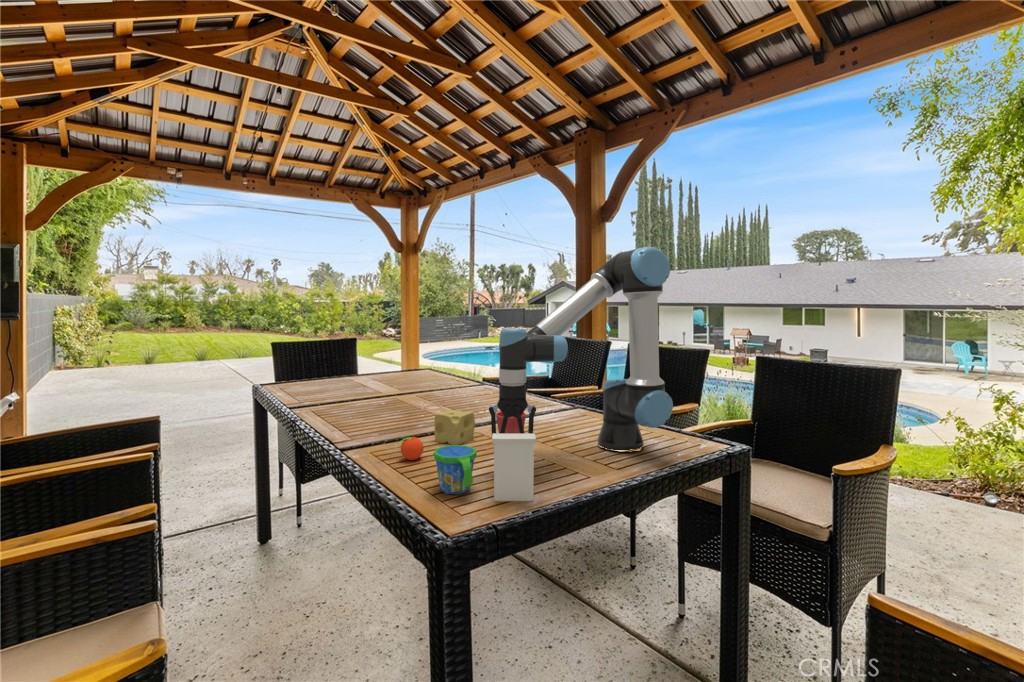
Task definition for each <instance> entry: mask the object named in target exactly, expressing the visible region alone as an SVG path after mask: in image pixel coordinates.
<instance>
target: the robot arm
mask: <svg viewBox="0 0 1024 682" xmlns="http://www.w3.org/2000/svg"><path fill="white" fill-rule="evenodd" d="M670 273H671V264H670V261H669V258H668V256H667V255H666V254H665V253H664V252H663V251H662V250H661V249H660V248H657V247H654V246H645V247H638V248H636V249H630V250H627V251H621V252H619V253H617V254H616V255H614V256H612V257H611V258H610V259H609V260H607V261H605V263H604V264H602V266H600V267H599V268H598V269H597V270H595V271H594V272H593V273H592V274H591V275H590V280H588V282H586V283H585V284H583V285H582V286H581V287H580V288H578V289H577V290H576V291H575V292H574V293H572V295H570V296H569V297H568V298H567V299H566V300H564V301H563V302H562V303H561V304H560V305H559V306H557V307H556V308H555V309H554V310H552V311H551V312H550V313H549V314H548V315H546V316H545V317H544V318H543V319H541V321H540V322H538V323H537V324H536V325H535V326H533V327H532V328H530V329H529V330H528V331H527V330H526V329H525V328H503V329H501V330H500V333H499V343H498V346H499V349H498V351H499V369H498V371H499V372H498V373H499V376H498V377H499V380H498V382H499V383H500V385H499V386H498V394H499V395H498V401H497V404H494V405H489V406H488V411H489V413H490V414H489V415H490V422H491V424H490V425H491V435H492V434H497V420H496V413H498V409H499V411H500V412H502V413H503V415H504V416H503V421H502V425H501V430H500V434H505V429H506V425H507V420H508V418H510V417H515V418H517V421H518V425H519V431H520V434H526V433H525V427H524V428H523V423H522V418H521V415H522V413H523V412H524V413H525V411H526V409H527V413H528V428H527V434H534V423H535V421H534V418H535V414H536V411H537V408H536V406H535V405H531V404H529V403H528V401H527V385H526V383H527V363H544V362H545V363H548V362H549V363H552V362H553V363H555V362H564V360H566V358H567V355H568V353H569V352H568V350H569V349H568V348H569V346H568V341H567V339H566V337H565V336H564V335H563V334H564V333H566V332H567V331H568V330H569V329H570V328H572V327H573V326H574V325H575V324H576V323H577V322H578V321H580V320H582V318H583V317H585V316H586V315H587V314H588V313H589V312H590V311H591V310H593V309H594V308H595V307H596V306H597V305H599V304H600V303H601V302H602V301H604V299H606V298H612V297H613V296H614V295H615V294H617V293H619V292H620V291H622V295H624V297H626V298H627V301H628V305H627V306H628V339H629V340H628V341H629V344H628V345H629V372H630V374H629V375H630V376H629V378H621V379H620V378H619V379H616V378H615V379H607V380H605V381H604V384H603V389H602V392H603V395H602V396H603V398H602V399H603V401H602V402H603V404H602V405H603V407H602V412H603V415H602V416H603V418H602V421H603V422H602V425H601V428H600V431H599V434H598V436H597V446H598V445H600V446H602V447H604V448H607V449H613V450H630V449H637V448H640V447H642V446H643V447H644V439H643V436H642V433H641V430H640V426H641V427H644V428H645V427H646V428H651V429H653V428H658V427H661V426H662V425H665V423H666V422H667V421H668V420H669V419H670V417H671V415H672V413H673V409H674V404H673V403H674V402H673V399H672V397H671V396H670V395H669V394H668V392H666V389H665V388H666V387H665V385H666V383H665V381H664V380H663V379H662V378H661V377H660V353H659V350H660V349H659V344H660V343H659V310H658V308H659V305H658V298H659V297H660V296H661V295H662V294H663V292H664V291H663V284H664V283H666V282H667V279H669V276H670Z"/></svg>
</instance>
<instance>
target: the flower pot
mask: <svg viewBox="0 0 1024 682" xmlns="http://www.w3.org/2000/svg"><path fill="white" fill-rule="evenodd" d="M495 414H496V427H497V431H498V434H500V430H501V425H502V421H503V416H504V415H503V413H502V412H501V411H497V412H496V413H495ZM526 417H527V414H526V412H525V411H524V412H523V413H522V415H521V418H522V423H523V428H524V429H525V423H526ZM505 434H520V431H519V425H518V421H517V418H515V417H510V418H508V420H507V425H506V429H505Z"/></svg>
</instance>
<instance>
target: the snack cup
mask: <svg viewBox="0 0 1024 682" xmlns="http://www.w3.org/2000/svg"><path fill="white" fill-rule="evenodd" d="M477 454H478V453H477V450H476V449H475V448H474V447H472V446H468V445H462V444H460V445H450V444H449V445H445V446H440V447H438V448H436V449H435V450H434V451H433V458H434V459H435V464H436V470H437V471H436V472H437V477H438V485H439V489H440V491H441V492H442V493H445V494H446V495H450V494H451V495H461V494H463V493H466V492H467V491H469V490H470V489H471V485H472V484H473V483H474V477H473V470H474V464H475V463H474V462H475V460H476V459H475V458H476V457H477Z"/></svg>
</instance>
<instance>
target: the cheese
mask: <svg viewBox="0 0 1024 682" xmlns="http://www.w3.org/2000/svg"><path fill="white" fill-rule="evenodd" d="M475 427H476V418H475V412H473V411H462V410H455V409H451V410H447V411H443V412H439V413H436V414H434V442H435V441H436V442H437V443H441V444H448V445H449V446H450V445H462V444H464V443H467V442H470V441H473V440H474V436H475V435H474V434H475Z"/></svg>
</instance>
